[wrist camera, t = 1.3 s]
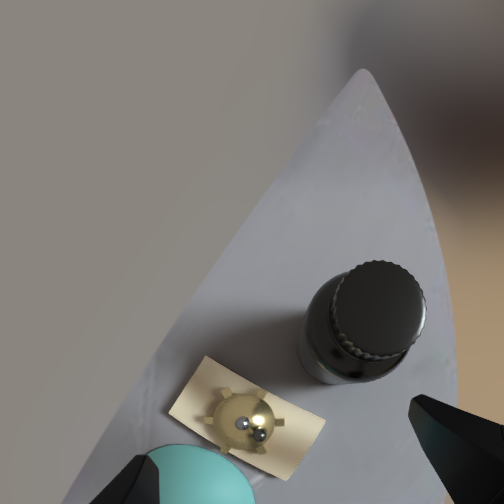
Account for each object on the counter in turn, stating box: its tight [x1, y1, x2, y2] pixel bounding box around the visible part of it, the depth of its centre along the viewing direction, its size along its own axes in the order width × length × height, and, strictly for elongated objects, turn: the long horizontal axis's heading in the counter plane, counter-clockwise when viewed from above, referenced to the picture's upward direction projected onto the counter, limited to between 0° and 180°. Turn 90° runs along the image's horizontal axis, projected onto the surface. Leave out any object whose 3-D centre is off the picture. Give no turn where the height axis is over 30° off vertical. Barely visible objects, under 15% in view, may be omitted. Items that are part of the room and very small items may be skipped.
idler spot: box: [147, 445, 255, 504], centre depth 17 cm, size 11×11×1 cm
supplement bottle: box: [298, 260, 427, 385], centre depth 17 cm, size 7×7×12 cm
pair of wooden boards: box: [169, 356, 326, 481], centre depth 16 cm, size 25×11×1 cm, turn 149°
